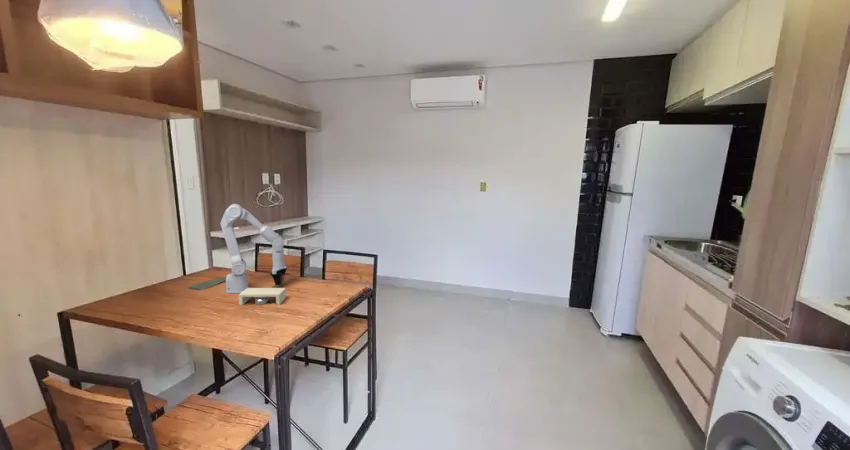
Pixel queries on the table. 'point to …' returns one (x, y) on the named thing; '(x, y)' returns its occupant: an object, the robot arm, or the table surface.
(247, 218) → the robot arm
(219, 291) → the table surface
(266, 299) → the steel token
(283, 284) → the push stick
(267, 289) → the plinth shelf
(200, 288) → the stone slab
